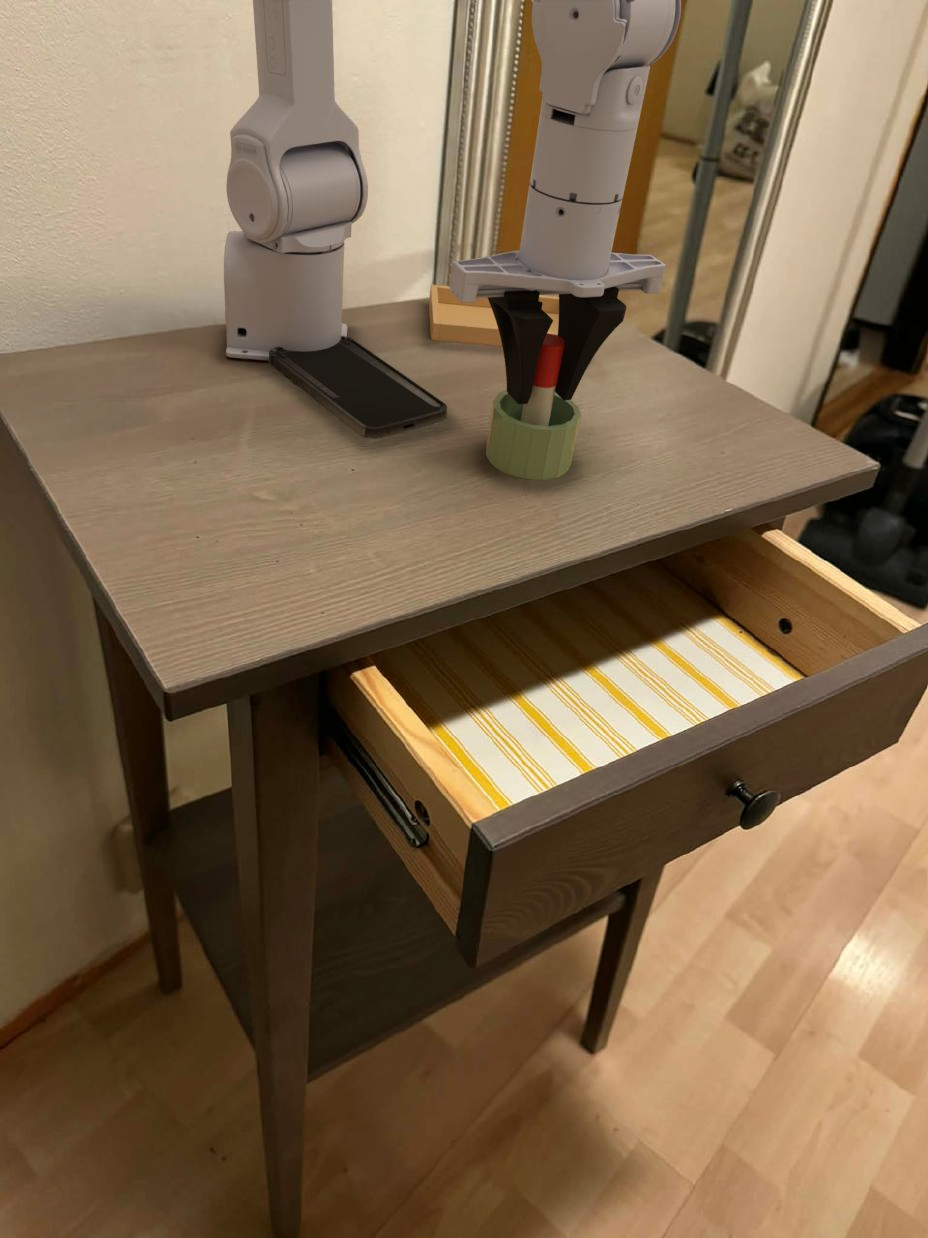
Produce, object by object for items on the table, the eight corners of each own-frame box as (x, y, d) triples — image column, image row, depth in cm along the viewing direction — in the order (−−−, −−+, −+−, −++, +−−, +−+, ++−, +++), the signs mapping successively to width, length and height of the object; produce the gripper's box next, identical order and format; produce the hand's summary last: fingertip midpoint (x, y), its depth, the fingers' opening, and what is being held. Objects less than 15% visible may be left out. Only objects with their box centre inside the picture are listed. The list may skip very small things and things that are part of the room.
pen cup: (488, 482, 66) (497, 425, 64) (482, 439, 71) (490, 383, 68) (574, 488, 67) (587, 432, 64) (563, 445, 72) (574, 390, 69)
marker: (515, 463, 68) (535, 344, 62) (512, 448, 69) (532, 331, 64) (544, 465, 68) (566, 347, 62) (540, 450, 70) (562, 334, 64)
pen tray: (431, 344, 83) (433, 322, 82) (428, 304, 90) (430, 284, 89) (577, 357, 85) (581, 336, 83) (563, 317, 92) (567, 297, 91)
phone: (344, 333, 80) (453, 408, 72) (344, 346, 81) (451, 422, 72) (262, 349, 76) (367, 431, 67) (262, 363, 77) (366, 445, 68)
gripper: (495, 212, 52) (466, 433, 60) (711, 210, 57) (657, 413, 66) (446, 173, 57) (426, 383, 65) (650, 175, 62) (607, 368, 70)
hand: (539, 395), depth 66 cm, fingers open, 3 cm apart
